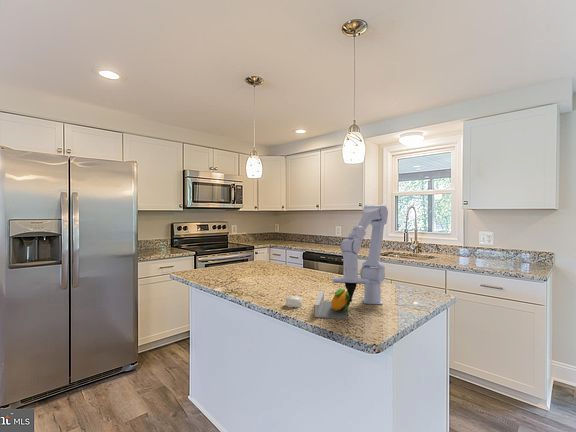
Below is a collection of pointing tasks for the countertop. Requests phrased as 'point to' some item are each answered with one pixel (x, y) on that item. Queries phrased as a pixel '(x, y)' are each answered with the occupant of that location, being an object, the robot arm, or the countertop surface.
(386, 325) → the countertop surface
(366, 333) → the countertop surface
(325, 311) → the bracket
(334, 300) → the toy fruit
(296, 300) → the white glossy round part
